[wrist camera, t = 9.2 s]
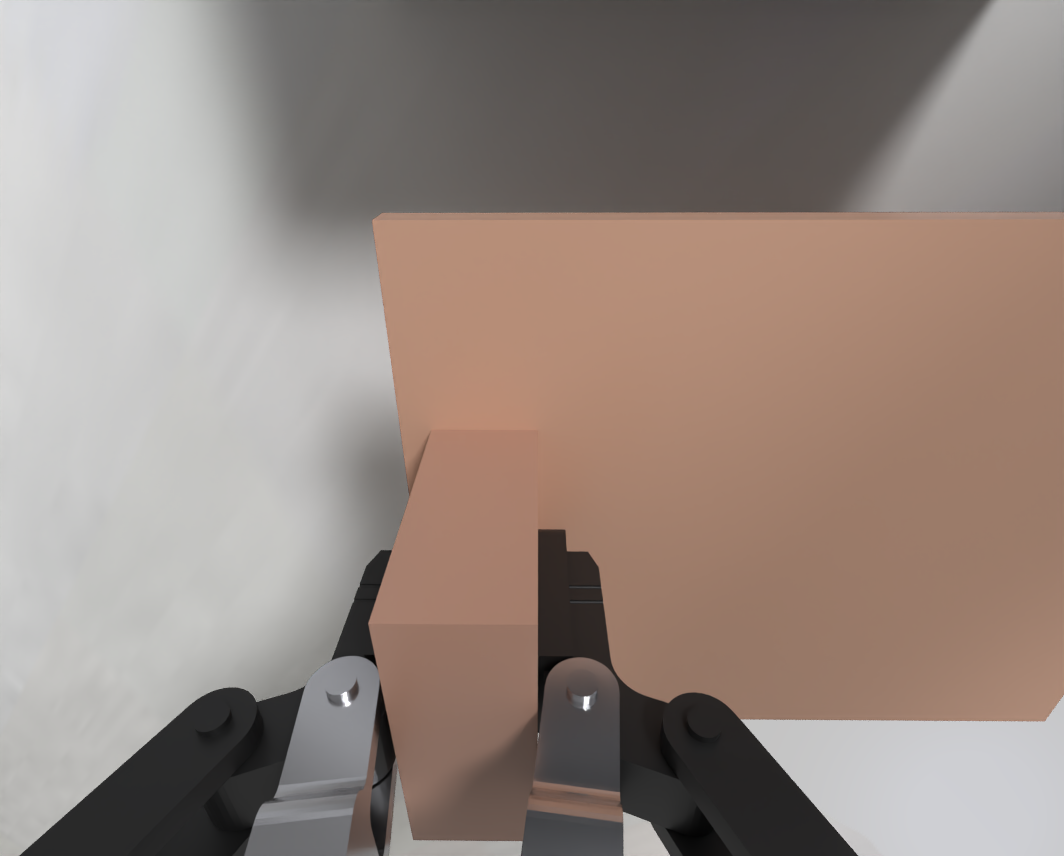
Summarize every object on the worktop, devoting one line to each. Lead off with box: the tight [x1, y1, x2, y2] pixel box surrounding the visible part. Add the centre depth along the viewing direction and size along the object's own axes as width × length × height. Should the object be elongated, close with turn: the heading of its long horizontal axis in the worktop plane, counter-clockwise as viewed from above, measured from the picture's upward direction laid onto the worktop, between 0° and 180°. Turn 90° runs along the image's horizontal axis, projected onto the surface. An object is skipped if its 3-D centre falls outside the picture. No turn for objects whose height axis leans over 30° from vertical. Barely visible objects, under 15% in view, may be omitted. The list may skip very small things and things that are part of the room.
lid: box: [368, 212, 1064, 841], centre depth 13 cm, size 19×15×8 cm
